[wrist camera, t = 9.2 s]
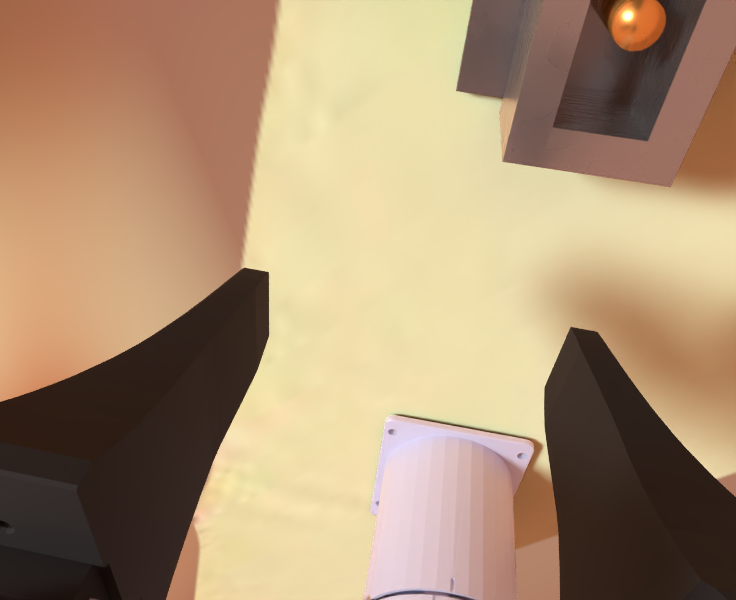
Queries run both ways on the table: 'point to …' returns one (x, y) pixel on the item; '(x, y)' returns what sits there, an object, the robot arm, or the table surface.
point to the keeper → (592, 55)
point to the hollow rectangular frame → (613, 93)
